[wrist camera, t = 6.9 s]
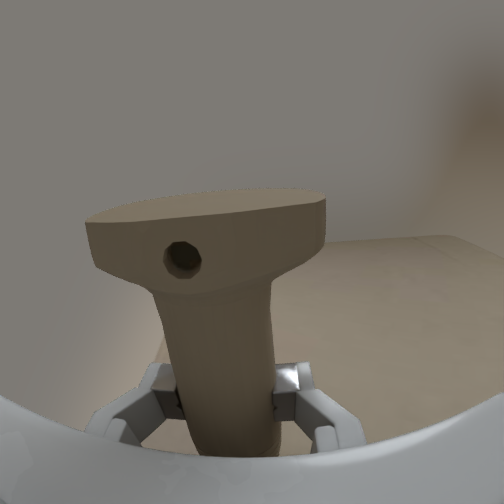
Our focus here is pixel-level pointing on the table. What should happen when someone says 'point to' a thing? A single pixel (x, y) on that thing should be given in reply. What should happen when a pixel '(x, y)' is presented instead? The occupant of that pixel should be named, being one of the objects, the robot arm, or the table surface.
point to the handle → (216, 297)
